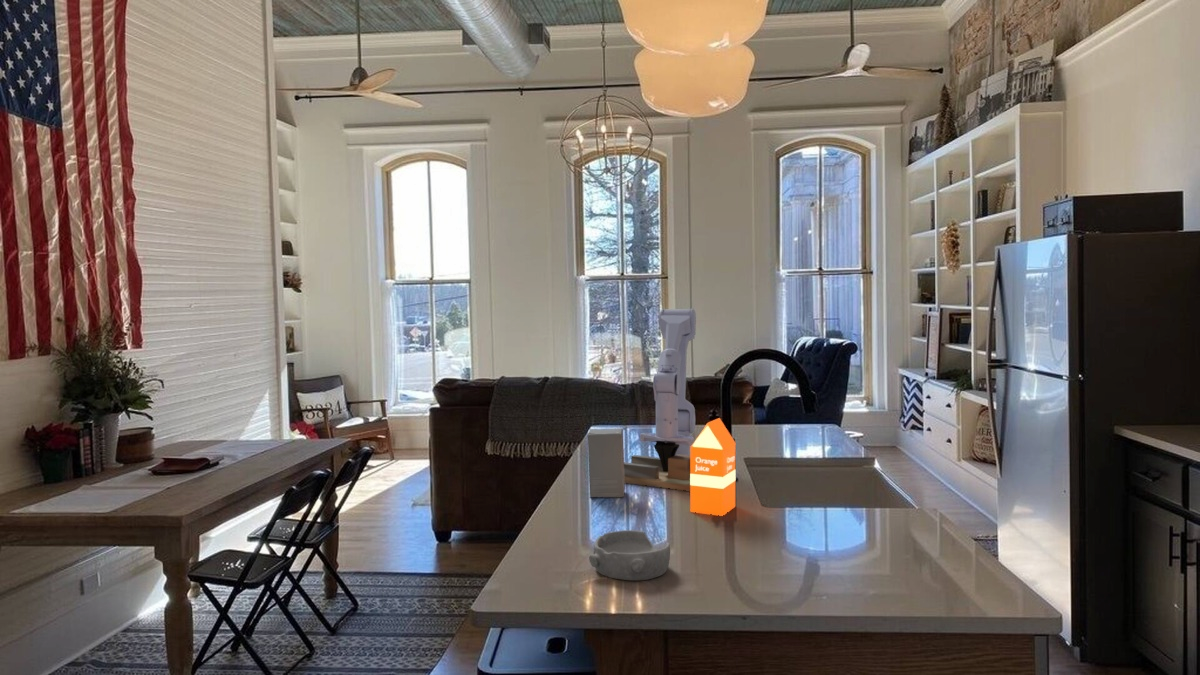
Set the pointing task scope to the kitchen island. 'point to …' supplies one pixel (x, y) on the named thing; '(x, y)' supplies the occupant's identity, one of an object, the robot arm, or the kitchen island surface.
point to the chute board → (657, 482)
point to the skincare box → (606, 462)
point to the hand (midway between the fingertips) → (666, 471)
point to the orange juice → (712, 471)
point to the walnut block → (679, 467)
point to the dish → (629, 556)
